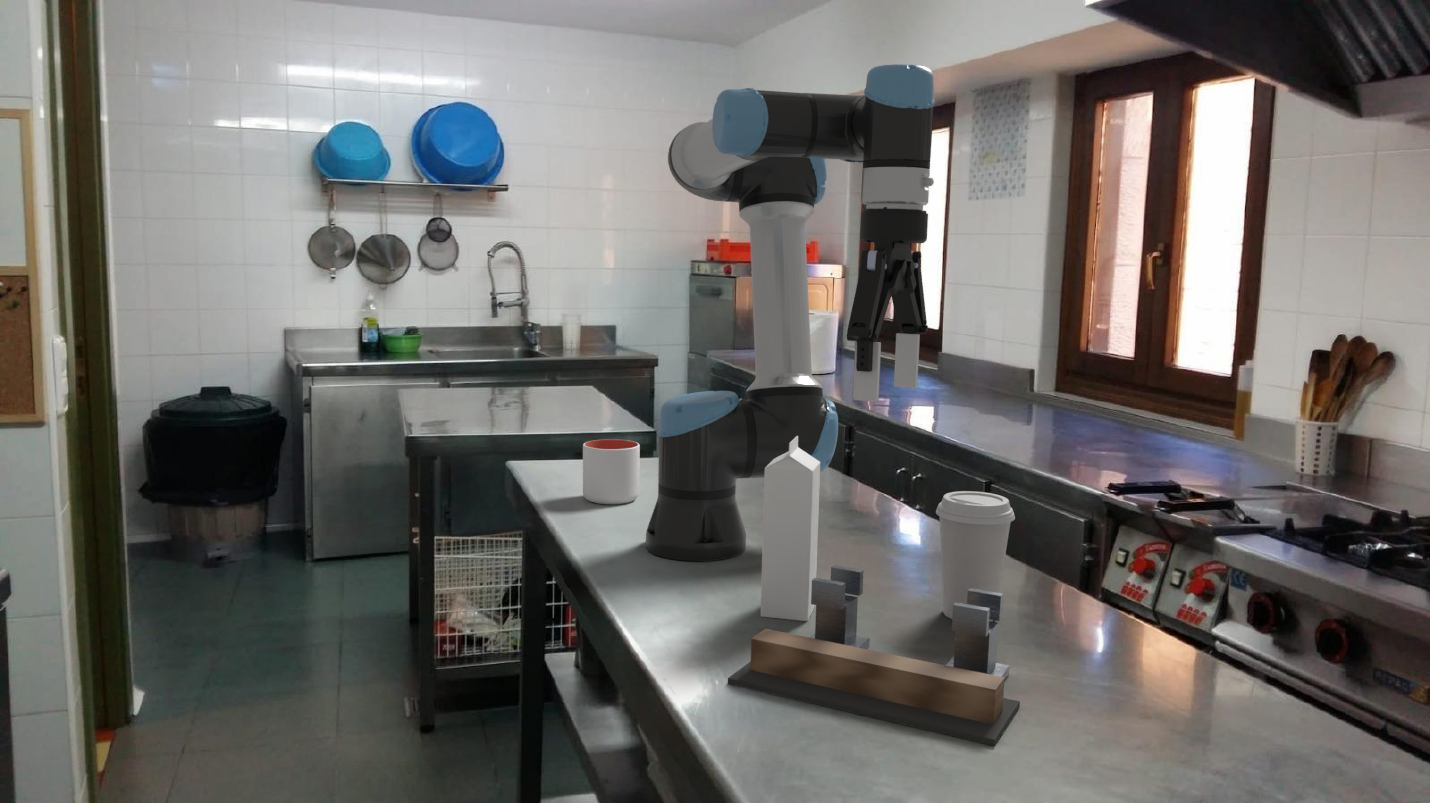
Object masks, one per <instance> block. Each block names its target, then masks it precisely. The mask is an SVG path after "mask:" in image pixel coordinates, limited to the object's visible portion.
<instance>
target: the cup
mask: <svg viewBox="0 0 1430 803" xmlns="http://www.w3.org/2000/svg"><path fill="white" fill-rule="evenodd" d="M640 450H641V446H640V443H638V442H637V441H633V440H628V439H627V440H626V439H616V438H615V439H614V438H613V439H610V438H609V439H605V438H604V439H596V440H595V439H594V440H589V441H586V442H584V443H582V495H583V497H584V499H585V500H587V501H588V502H590V503H593V502H594V504H600V505H622V504H623V505H624V504H627V503H631V502H633V501H635V500H636V499H637V498H638V497H639V495H640V470H641V469H640V462H641V460H640V458H641V457H640V455H641V454H640V453H641V452H640Z"/></svg>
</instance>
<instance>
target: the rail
mask: <svg viewBox="0 0 1430 803" xmlns="http://www.w3.org/2000/svg"><path fill="white" fill-rule="evenodd" d="M750 662H751V670H753V671H757V672H762V673H766V674H771V675H775V676H780V677H784V678H789V679H793V680H797V681H802V682H806V683H811V684H815V685H820V686H824V687H829V688H833V689H837V690H842V691H846V692H851V693H855V694H860V695H864V696H869V697H873V698H877V699H882V700H886V701H891V702H895V703H900V704H904V705H909V706H913V707H917V708H922V709H926V710H931V711H935V712H940V713H944V714H949V715H953V716H957V717H962V718H966V719H971V720H975V721H980V722H984V723H989V724H993V725H994V723H995V722H996V720H997V719H998V717H999V716H1000V714H1001V713H1002V711H1003V698H1004V692H1005V680H1006V679H1005V677H1000V676H995V675H990V674H985V673H980V672H975V671H970V670H966V669H961V668H956V667H951V666H946V664H940V663H935V662H930V661H927V660H926V661H925V660H920V659H917V658H916V659H915V658H912V657H906V656H901V655H896V654H891V653H887V652H881V651H876V650H871V649H868V648H867V649H863V648H858V647H853V646H848V645H843V644H838V643H833V642H828V641H823V640H818V639H813V638H810V637H807V636H803V635H798V634H793V633H788V632H783V631H778V630H774V629H768V628H765V629H763V630H762V631H760V632H758V633H757V634H756V635H754V636H753V637H751V640H750ZM1004 679H1005V680H1004Z"/></svg>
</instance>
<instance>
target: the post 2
mask: <svg viewBox="0 0 1430 803" xmlns="http://www.w3.org/2000/svg"><path fill="white" fill-rule="evenodd" d="M1003 598H1004V593H1001V592H1000V593H997V592H991V591H985V590H979V589H973V588H970V589H969V590H968V595H967V604H963V603H957V602H955V603H954V604H953V615H952V619H951V631H952V632H955V633H954V650H953V656H952V657H951V658H950V660H949V661H948V662H947V663H946V664H945V665H946V666H951V667H956V668H961V669H966V670H970V671H975V672H980V673H985V674H990V675H995V676H1000V677H1005V679H1004V681H1005V680H1006V679H1007V678H1008V676H1010V665H1008V664H1003V663H998V662H997V648H998V647H997V646H998V634H999V632H998V630H999V622H1000V621H1001V620H1002V617H1003V602H1004V600H1003ZM989 619H990V620H993V621H989ZM997 621H998V622H997Z"/></svg>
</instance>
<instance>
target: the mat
mask: <svg viewBox="0 0 1430 803" xmlns="http://www.w3.org/2000/svg"><path fill="white" fill-rule="evenodd" d="M727 684H729V685H732V686H737V687H742V688H746V689H749V690H753V691H754V690H755V691H759V692H764V693H767V694H771V695H775V696H780V697H784V698H788V699H793V700H796V701H797V700H798V701H801V702H806V703H808V704H809V703H810V704H815V705H818V706H822V707H828V708H831V709H834V710H840V711H845V712H847V713H853V714H857V715H861V716H865V717H868V718H869V717H870V718H875V719H879V720H882V721H887V722H890V723H891V722H892V723H896V724H900V725H904V726H909V727H913V728H917V729H921V730H924V731H925V730H926V731H929V732H935V733H938V734H942V735H947V736H951V737H954V738H955V737H956V738H960V739H962V740H963V739H964V740H969V741H971V742H972V741H973V742H977V743H980V744H985V745H989V746H993V747H994V746H995V747H996V744H997V743H998V741H999V740H1000V738H1001V736H1002V735H1003V733H1004V732H1005V730H1006V729H1007V727H1008V726H1009V724H1010V723H1011V722H1012V719H1013V718H1014V716H1015V715H1016V713H1017V712H1018V710H1019V709H1020V704H1021V702H1020V701H1019V700H1016V699H1010V698H1006V697H1003V711H1002V713H1001V714H1000V716H999V717H998V719H997V720H996V722H995V723H994V725H993V724H989V723H984V722H980V721H975V720H971V719H966V718H962V717H957V716H953V715H949V714H944V713H940V712H935V711H931V710H926V709H922V708H917V707H913V706H909V705H904V704H900V703H895V702H891V701H886V700H882V699H877V698H873V697H869V696H864V695H860V694H855V693H851V692H846V691H842V690H837V689H833V688H829V687H824V686H820V685H815V684H811V683H806V682H802V681H797V680H793V679H789V678H784V677H780V676H775V675H771V674H766V673H762V672H757V671H753V670H751V661H749V662H748V663H747V664H745V665H743V666H742V667H741V668H740V669H738V670H737V671H735V672H734V673H733V674H731V675H730V676H729V677H727Z"/></svg>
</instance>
